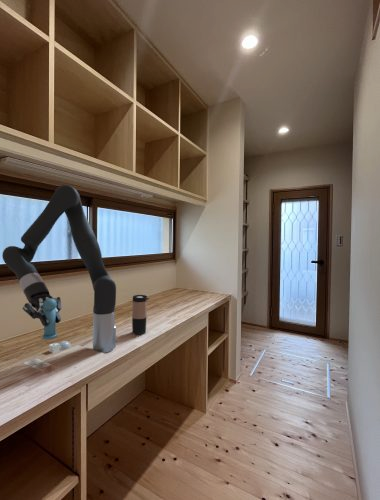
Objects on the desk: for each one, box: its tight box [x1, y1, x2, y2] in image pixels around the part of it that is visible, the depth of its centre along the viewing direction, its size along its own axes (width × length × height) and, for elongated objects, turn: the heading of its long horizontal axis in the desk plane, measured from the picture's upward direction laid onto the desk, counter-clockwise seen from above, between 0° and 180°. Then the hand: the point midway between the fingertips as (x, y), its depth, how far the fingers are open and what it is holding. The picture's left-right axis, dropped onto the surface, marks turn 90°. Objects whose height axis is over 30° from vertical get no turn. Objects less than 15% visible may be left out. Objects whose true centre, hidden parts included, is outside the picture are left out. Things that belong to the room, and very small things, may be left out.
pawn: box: [41, 298, 58, 341], centre depth 94 cm, size 5×5×14 cm
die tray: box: [48, 340, 72, 354], centre depth 112 cm, size 10×8×6 cm
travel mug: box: [131, 294, 148, 336], centre depth 138 cm, size 8×8×20 cm
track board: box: [23, 358, 60, 375], centre depth 97 cm, size 7×16×1 cm, turn 62°
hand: (53, 323), depth 93 cm, fingers closed on pawn, 3 cm apart
